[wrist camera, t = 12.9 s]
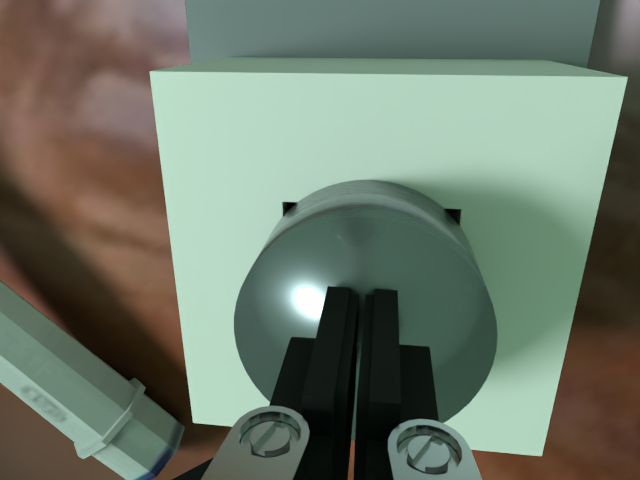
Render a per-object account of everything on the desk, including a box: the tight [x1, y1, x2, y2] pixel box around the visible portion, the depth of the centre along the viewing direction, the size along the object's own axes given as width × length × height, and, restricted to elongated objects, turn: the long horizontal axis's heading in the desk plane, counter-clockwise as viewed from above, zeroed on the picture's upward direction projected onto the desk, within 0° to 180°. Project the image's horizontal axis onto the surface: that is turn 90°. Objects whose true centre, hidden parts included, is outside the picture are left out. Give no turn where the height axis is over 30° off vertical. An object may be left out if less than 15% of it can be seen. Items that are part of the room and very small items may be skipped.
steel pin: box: [234, 180, 498, 440], centre depth 16 cm, size 6×6×9 cm
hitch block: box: [150, 0, 628, 456], centre depth 19 cm, size 18×15×8 cm
